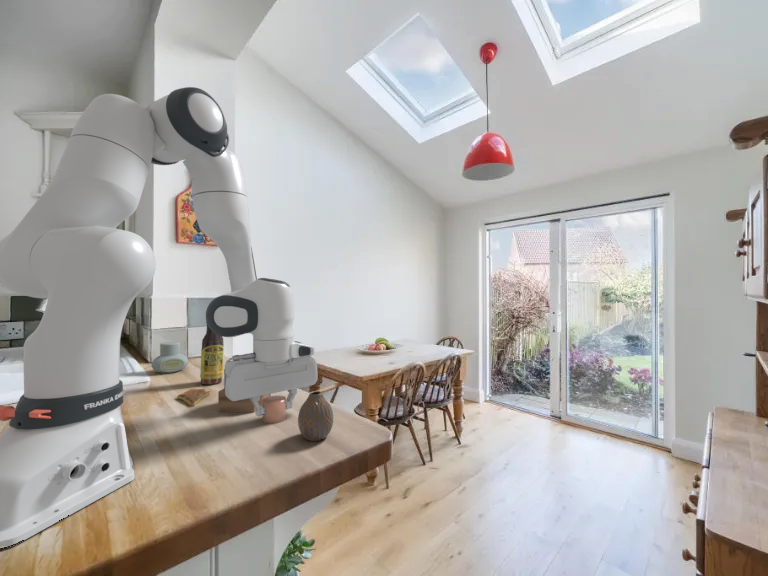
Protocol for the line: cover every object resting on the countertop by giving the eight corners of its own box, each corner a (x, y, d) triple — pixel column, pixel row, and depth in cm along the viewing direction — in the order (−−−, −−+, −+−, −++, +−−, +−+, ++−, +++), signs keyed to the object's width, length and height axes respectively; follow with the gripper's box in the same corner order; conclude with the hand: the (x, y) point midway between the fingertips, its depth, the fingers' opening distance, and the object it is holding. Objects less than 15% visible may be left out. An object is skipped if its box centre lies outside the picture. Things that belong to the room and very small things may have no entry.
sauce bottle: (202, 386, 102) (202, 319, 102) (198, 382, 107) (197, 318, 107) (226, 382, 106) (226, 318, 106) (221, 378, 111) (220, 317, 111)
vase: (340, 434, 70) (340, 390, 70) (317, 448, 64) (317, 400, 64) (314, 426, 73) (314, 385, 73) (290, 439, 67) (290, 394, 67)
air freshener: (185, 366, 127) (185, 339, 127) (190, 371, 121) (190, 342, 121) (150, 371, 120) (149, 343, 120) (153, 376, 114) (153, 346, 114)
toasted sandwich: (193, 409, 85) (193, 401, 85) (162, 409, 85) (162, 402, 85) (213, 395, 96) (213, 388, 96) (186, 395, 96) (186, 388, 96)
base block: (254, 413, 82) (254, 392, 82) (218, 412, 83) (218, 391, 83) (270, 400, 91) (270, 381, 91) (238, 399, 92) (238, 381, 92)
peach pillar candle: (280, 423, 75) (280, 403, 75) (258, 423, 75) (258, 402, 75) (289, 415, 80) (289, 395, 80) (268, 414, 80) (268, 395, 80)
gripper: (229, 359, 68) (229, 428, 69) (320, 347, 82) (320, 405, 82) (220, 354, 73) (221, 418, 74) (308, 343, 86) (308, 398, 87)
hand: (274, 411), depth 78 cm, fingers closed on peach pillar candle, 5 cm apart
